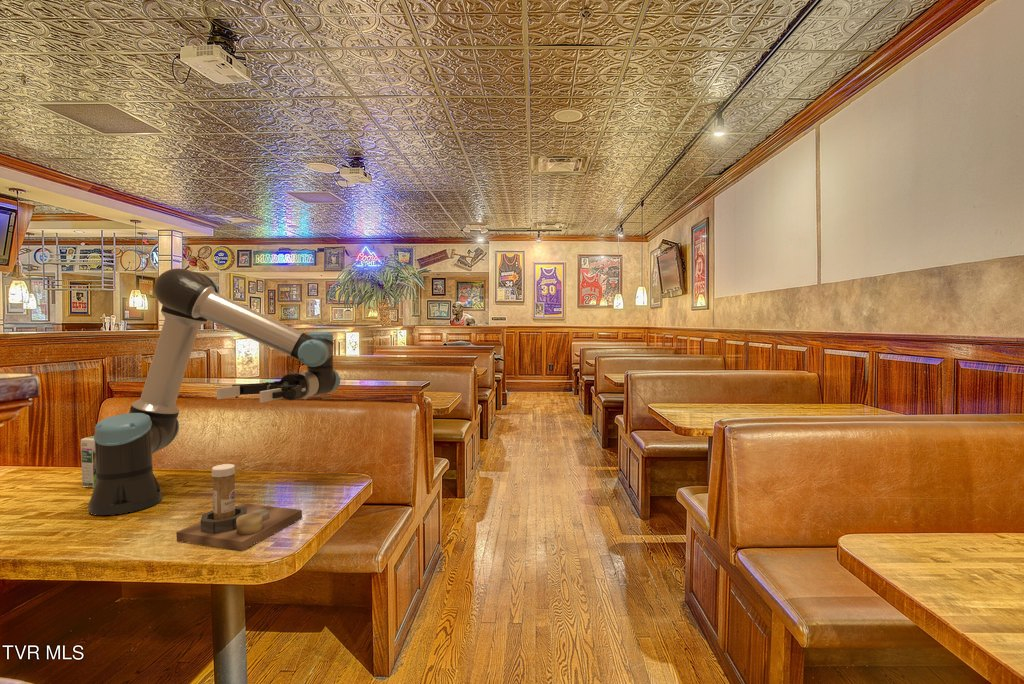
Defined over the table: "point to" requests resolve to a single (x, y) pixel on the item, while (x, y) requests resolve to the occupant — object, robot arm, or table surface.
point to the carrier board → (238, 540)
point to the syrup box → (88, 462)
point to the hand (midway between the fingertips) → (238, 395)
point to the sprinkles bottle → (223, 491)
